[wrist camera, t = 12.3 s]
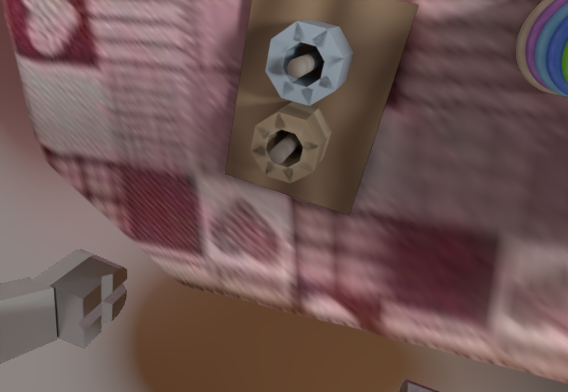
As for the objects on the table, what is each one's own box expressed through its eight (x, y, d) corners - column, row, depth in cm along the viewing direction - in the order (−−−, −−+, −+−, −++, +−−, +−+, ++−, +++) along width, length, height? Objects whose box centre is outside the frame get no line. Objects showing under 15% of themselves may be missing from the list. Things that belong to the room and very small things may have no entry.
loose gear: (359, 31, 35) (350, 34, 30) (340, 100, 37) (329, 112, 33) (293, 14, 36) (275, 15, 31) (279, 83, 39) (261, 92, 34)
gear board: (418, 5, 34) (417, 3, 27) (351, 209, 43) (336, 250, 36) (262, -32, 36) (222, -43, 29) (230, 169, 46) (193, 199, 38)
